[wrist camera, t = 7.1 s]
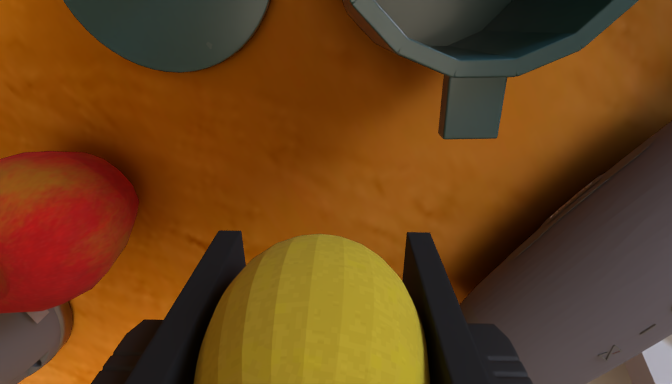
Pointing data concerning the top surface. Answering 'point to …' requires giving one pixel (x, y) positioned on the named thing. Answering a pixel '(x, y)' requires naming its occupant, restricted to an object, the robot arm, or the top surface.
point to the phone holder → (643, 367)
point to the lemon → (315, 320)
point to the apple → (59, 226)
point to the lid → (171, 29)
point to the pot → (482, 46)
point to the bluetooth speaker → (590, 274)
